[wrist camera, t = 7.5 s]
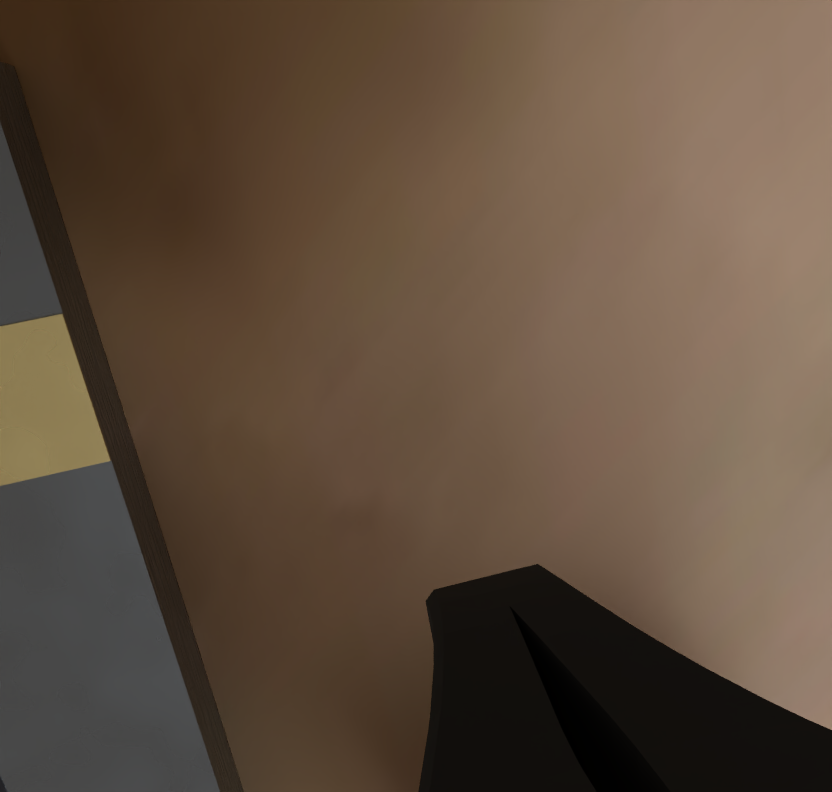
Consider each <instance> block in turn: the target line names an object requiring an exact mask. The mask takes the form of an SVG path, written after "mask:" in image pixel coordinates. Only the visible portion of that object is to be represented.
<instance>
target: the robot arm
mask: <svg viewBox="0 0 832 792" xmlns="http://www.w3.org/2000/svg"><path fill="white" fill-rule="evenodd" d="M426 606H427V611H428V616H429V622H430V627H431V632H432V637H433V643H434V670H433V684H432V698H431V712H430V721H429V730H428V736H427V742H426V748H425V755H424V761H423V767H422V773H421V780H420V786H419V792H832V730H830V729H828V728H826V727H823V726H821V725H819V724H816V723H814V722H812V721H809V720H807V719H805V718H803V717H801V716H799V715H797V714H795V713H792V712H790V711H788V710H786V709H784V708H782V707H780V706H778V705H776V704H774V703H772V702H770V701H767V700H766V699H764V698H762V697H760V696H758V695H756V694H754V693H752V692H750V691H748V690H746V689H744V688H743V687H741V686H739V685H737V684H735V683H733V682H731V681H729V680H727V679H725V678H723V677H721V676H719V675H718V674H716V673H714V672H712V671H710V670H708V669H706V668H704V667H703V666H701V665H699V664H697V663H696V662H694V661H692V660H690V659H688V658H687V657H685V656H683V655H681V654H679V653H678V652H676V651H674V650H673V649H671V648H669V647H667V646H666V645H664V644H662V643H661V642H659V641H657V640H656V639H654V638H652V637H651V636H649V635H647V634H646V633H644V632H642V631H641V630H639V629H637V628H636V627H634V626H633V625H631V624H629V623H628V622H626V621H625V620H623V619H621V618H620V617H618V616H617V615H615V614H614V613H612V612H611V611H609V610H607V609H606V608H604V607H603V606H601V605H600V604H598V603H597V602H595V601H594V600H592V599H590V598H589V597H587V596H586V595H584V594H583V593H581V592H580V591H578V590H577V589H575V588H574V587H572V586H571V585H569V584H568V583H566V582H565V581H563V580H562V579H560V578H558V577H557V576H555V575H554V574H552V573H551V572H549V571H548V570H546V569H545V568H543V567H542V566H540V565H538V564H536V565H532V566H528V567H524V568H520V569H516V570H512V571H508V572H504V573H500V574H496V575H491V576H487V577H483V578H479V579H475V580H471V581H467V582H463V583H459V584H455V585H451V586H447V587H443V588H439V589H435V590H433V592H432V593H431V594H430V596H429V597H428V599H427V600H426Z"/></svg>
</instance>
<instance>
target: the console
mask: <svg viewBox="0 0 832 792" xmlns="http://www.w3.org/2000/svg"><path fill="white" fill-rule="evenodd" d="M0 792H243V789H242V786H241V783H240V779H239V776H238V773H237V770H236V767H235V764H234V760H233V757H232V754H231V751H230V748H229V745H228V741H227V738H226V735H225V732H224V729H223V726H222V722H221V719H220V716H219V713H218V710H217V707H216V703H215V700H214V697H213V694H212V691H211V688H210V684H209V681H208V678H207V675H206V672H205V669H204V665H203V662H202V659H201V656H200V653H199V650H198V646H197V643H196V640H195V637H194V634H193V631H192V627H191V624H190V621H189V618H188V615H187V612H186V608H185V605H184V602H183V599H182V596H181V593H180V590H179V586H178V583H177V580H176V577H175V574H174V571H173V567H172V564H171V561H170V558H169V555H168V552H167V548H166V545H165V542H164V539H163V536H162V533H161V529H160V526H159V523H158V520H157V517H156V514H155V510H154V507H153V504H152V501H151V498H150V495H149V491H148V488H147V485H146V482H145V479H144V476H143V472H142V469H141V466H140V463H139V460H138V457H137V453H136V450H135V447H134V444H133V441H132V438H131V434H130V431H129V428H128V425H127V422H126V419H125V415H124V412H123V409H122V406H121V403H120V400H119V396H118V393H117V390H116V387H115V384H114V381H113V377H112V374H111V371H110V368H109V365H108V362H107V359H106V355H105V352H104V349H103V346H102V343H101V340H100V336H99V333H98V330H97V327H96V324H95V321H94V317H93V314H92V311H91V308H90V305H89V302H88V298H87V295H86V292H85V289H84V286H83V283H82V279H81V276H80V273H79V270H78V267H77V264H76V260H75V257H74V254H73V251H72V248H71V245H70V241H69V238H68V235H67V232H66V229H65V226H64V222H63V219H62V216H61V213H60V210H59V207H58V203H57V200H56V197H55V194H54V191H53V188H52V184H51V181H50V178H49V175H48V172H47V169H46V165H45V162H44V159H43V156H42V153H41V150H40V146H39V143H38V140H37V137H36V134H35V131H34V128H33V124H32V121H31V118H30V115H29V112H28V109H27V105H26V102H25V99H24V96H23V93H22V90H21V86H20V83H19V80H18V77H17V74H16V71H15V67H14V66H12V65H9V64H6V63H3V62H0Z"/></svg>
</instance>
